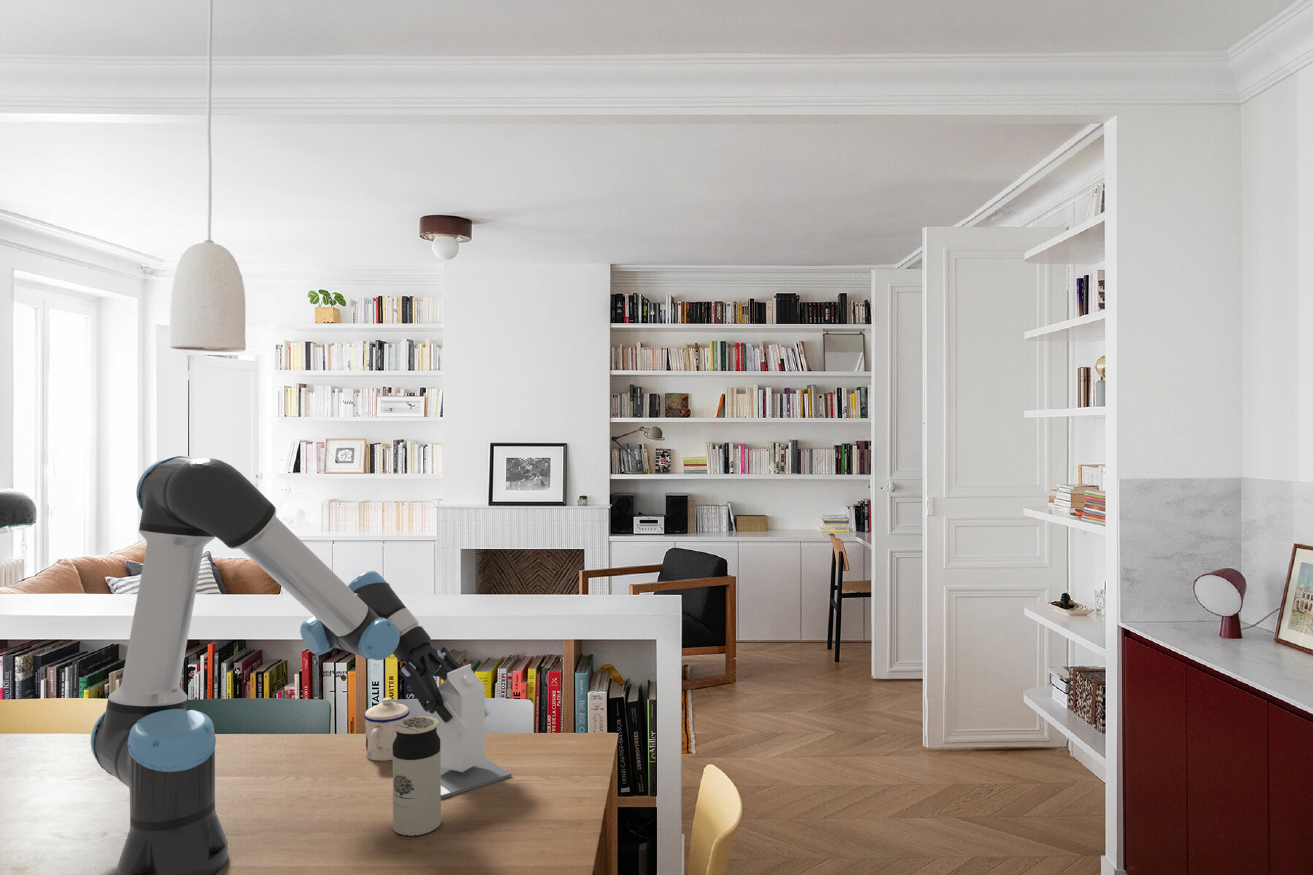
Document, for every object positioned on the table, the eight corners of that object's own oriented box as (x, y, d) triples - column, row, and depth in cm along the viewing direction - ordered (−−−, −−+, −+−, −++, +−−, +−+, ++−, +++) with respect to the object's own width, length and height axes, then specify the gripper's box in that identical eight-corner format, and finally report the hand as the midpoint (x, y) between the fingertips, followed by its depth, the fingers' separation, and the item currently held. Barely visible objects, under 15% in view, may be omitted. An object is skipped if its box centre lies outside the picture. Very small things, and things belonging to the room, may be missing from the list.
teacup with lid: (376, 744, 184) (375, 690, 184) (416, 745, 183) (416, 692, 183) (350, 766, 172) (350, 709, 172) (393, 768, 171) (393, 711, 171)
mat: (511, 776, 168) (511, 772, 168) (436, 800, 157) (436, 796, 157) (467, 749, 181) (467, 746, 181) (395, 769, 171) (395, 766, 171)
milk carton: (433, 766, 168) (433, 670, 167) (457, 753, 174) (456, 661, 173) (462, 773, 164) (462, 675, 164) (485, 759, 171) (484, 666, 170)
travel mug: (422, 811, 153) (422, 711, 153) (450, 824, 148) (449, 722, 148) (383, 827, 147) (383, 724, 146) (411, 842, 142) (410, 735, 141)
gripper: (423, 636, 183) (489, 719, 178) (360, 662, 164) (432, 755, 159) (444, 613, 182) (511, 696, 177) (383, 637, 162) (457, 731, 157)
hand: (474, 724), depth 168 cm, fingers closed on milk carton, 8 cm apart
